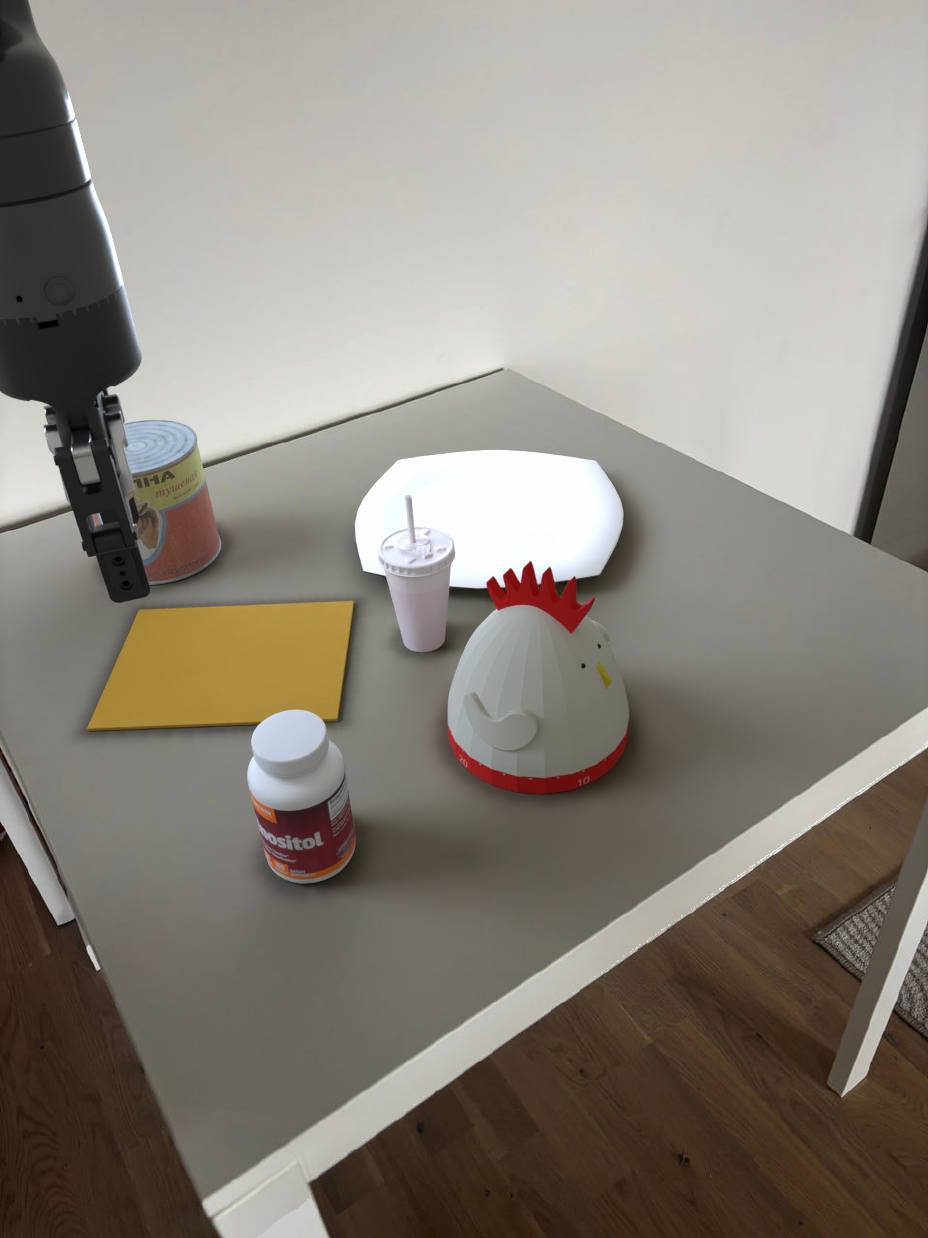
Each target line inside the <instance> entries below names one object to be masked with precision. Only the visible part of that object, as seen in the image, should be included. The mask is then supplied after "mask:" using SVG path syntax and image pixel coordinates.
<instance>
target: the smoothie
mask: <svg viewBox="0 0 928 1238" xmlns="http://www.w3.org/2000/svg"><path fill="white" fill-rule="evenodd" d="M405 503H406V514H407V525H408V528H403V529H400V530H397V531H394V532H392V533H390V534H389V535H387V536H386V537H385V538H383V539H382V541H381V542H380V543H379V546H378V561H379V564H380V565H381V567H382V568H383V569H384V570H385V574H386V577H385V578H386V581H387V585H388V589H389V593H390V597H391V601H392V605H393V608H394V612H395V616H396V619H397V624H398V628H399V631H400V634H401V639H402V643H403V645H404V646H405V648H407V649H408V650H410V651H411V652H416V653H428V652H433V651H436V650H437V649H439V648H441V647H442V646H443V645H444V644H445V641H446V633H447V631H446V630H447V619H448V608H449V595H450V587H449V584H450V574H451V564H452V562H453V561H454V559H455V554H456V552H455V548H454V541H453V539H452V537H451V536H450V535H448V534H447V533H446V532H444V531H442V530H439V529H436V528H432V527H424V526H416V527H414V515H413V504H412V496H411V495H406V496H405Z"/></svg>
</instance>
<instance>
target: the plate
mask: <svg viewBox="0 0 928 1238" xmlns="http://www.w3.org/2000/svg"><path fill="white" fill-rule="evenodd" d="M406 495H411V496H412V504H413V515H414V527H416V526H424V527H432V528H436V529H439V530H442V531H444V532H446V533H447V534H448V535H450V536H451V537H452V539H453V541H454V548H455V552H456V554H455V559H454V561H453V562H452V564H451V574H450V584H449V589H450V588H451V589H464V590H466V589H467V590H477V591H478V590H488V588H487V585H486V582H487V581H488V580H489V579H490V578H491V577H492V576H494V577H495V578H496V580H497V582H498V583H499V585H500V587H501V588H502V590H503V589H504V590H506V587H505V584H504V580H503V574H504V573H505V572H506V571H507V570H509V569H510V568H512V570H513V571H514V573H515V575H516V576H517V578H518V580H519V582H520V583H521V577H522V570H523V568H524V567H525V566H526V565H527V564H528V563H529V562H530V561H532V564H533V567H534V571H535V575H536V580H537V584H538V587H540V585H541V579H542V574H543V573H544V572H545V571H546V570H547V569H548V568H549V567H551V570H552V573H553V577H554V582H555V584H559V583H566V582H567V583H568V582H569V581H570V580H571V579H572V578H573V577H574V576H575V577H576V581H579V580H585V579H592V578H597V577H600V576H601V574H602V572H603V570H604V568H605V567H606V565H607V563H608V561H609V559H610V558H611V556H612V554H613V551H614V550H615V548H616V546H617V543H618V542H619V538H620V536H621V532H622V530H623V527H624V526H623V525H624V513H625V512H624V508H623V503H622V499H621V497H620V496H619V493H618V491H617V489H616V487H615V486H614V484H613V483H612V481H611V479H610V478H609V477H608V475H607V474H606V472H605V471H604V470H603V468H602V467H601V465H600V464H599V463H598V462H597V461H596V460H593V459H586V458H582V457H581V458H580V457H574V456H566V455H560V454H553V453H552V454H551V453H543V452H534V451H522V450H505V449H504V450H503V449H489V450H488V449H487V450H486V449H485V450H469V451H458V452H449V453H440V454H432V455H423V456H415V457H409V458H402V459H398V460H397V461H396V462H395V463H394V464H393V465H392V466H391V467H390V468H389V469H387V471H386V472H384V474H383V475H382V476H381V477H380V478H379V479H378V480H377V481H376V482H375V484H373V486H372V487H371V488H370V490H368V492H367V494H366V495H365V496H364V498H363V499H362V501H361V503H360V505H359V507H358V509H357V512H356V517H355V521H354V529H355V530H354V531H355V534H354V535H355V542H356V546H357V551H358V556H359V560H360V563H361V568H362V571H363V573H365V574H370V575H375V576H378V577H384V578H386V574H385V570H384V569H383V568H382V567H381V565H380V564H379V561H378V546H379V543H380V542H381V541H382V539H383V538H385V537H386V536H387V535H389V534H390V533H392V532H394V531H397V530H400V529H403V528H408V525H407V514H406V503H405V496H406Z"/></svg>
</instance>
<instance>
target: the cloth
mask: <svg viewBox="0 0 928 1238" xmlns="http://www.w3.org/2000/svg"><path fill="white" fill-rule="evenodd" d="M354 608H355V601H354V600H340V601H339V600H337V601H315V602H291V603H271V604H270V603H268V604H266V603H265V604H264V603H263V604H246V605H245V604H243V605H221V606H220V605H219V606H218V605H217V606H216V605H215V606H196V607H195V606H194V607H173V608H172V607H171V608H170V607H169V608H168V607H167V608H148V609H138V611H137V613H136V616H135V618H134V620H133V622H132V625H131V627H130V630H129V632H128V634H127V637H126V639H125V640H124V643H123V645H122V648H121V650H120V652H119V655H118V657H117V659H116V661H115V664H114V666H113V668H112V671H111V673H110V675H109V678H108V680H107V681H106V684H105V687H104V688H103V691H102V693H101V696H100V698H99V700H98V702H97V705H96V707H95V709H94V712H93V714H92V715H91V719H90V720H89V722H88V725H87V728H86V729H87V731H88V732H97V731H98V732H100V731H123V730H124V731H126V730H147V729H148V730H149V729H151V730H153V729H176V728H199V727H201V728H202V727H230V726H250V725H251V726H252V725H254V726H255V725H259V724H260V723H261V722H263V721H264V720H265V719H267V718H268V717H270V716H272V715H274V714H276V713H280V712H283V711H288V710H304V711H309V712H312V713H314V714H316V715H317V716H319V717H320V718H321V719H322V720H323V722H324V723H326V722H327V723H328V722H338V720H339V714H340V708H341V700H342V693H343V687H344V679H345V672H346V664H347V657H348V650H349V643H350V636H351V628H352V621H353V614H354Z"/></svg>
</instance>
